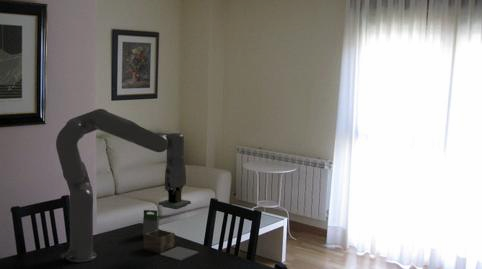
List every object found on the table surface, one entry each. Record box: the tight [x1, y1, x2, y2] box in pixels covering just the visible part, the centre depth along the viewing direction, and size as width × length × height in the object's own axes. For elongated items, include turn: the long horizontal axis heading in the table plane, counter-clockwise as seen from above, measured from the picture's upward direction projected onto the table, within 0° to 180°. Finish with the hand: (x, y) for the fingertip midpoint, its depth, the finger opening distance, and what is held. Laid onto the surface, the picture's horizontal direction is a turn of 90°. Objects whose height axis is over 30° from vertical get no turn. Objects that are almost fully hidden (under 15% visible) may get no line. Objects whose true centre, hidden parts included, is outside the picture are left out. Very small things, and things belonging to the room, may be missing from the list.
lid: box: [158, 190, 192, 210], centre depth 248 cm, size 10×10×7 cm
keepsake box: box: [143, 228, 176, 255], centre depth 255 cm, size 10×10×7 cm
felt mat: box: [159, 246, 200, 262], centre depth 249 cm, size 13×12×1 cm
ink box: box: [142, 209, 160, 237], centre depth 273 cm, size 7×4×13 cm, turn 84°
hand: (174, 201), depth 248 cm, fingers closed on lid, 3 cm apart
